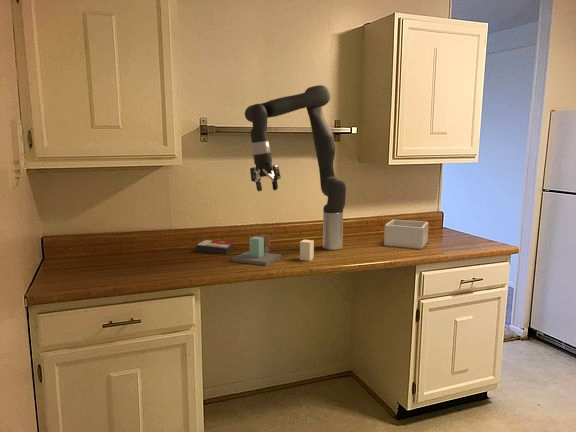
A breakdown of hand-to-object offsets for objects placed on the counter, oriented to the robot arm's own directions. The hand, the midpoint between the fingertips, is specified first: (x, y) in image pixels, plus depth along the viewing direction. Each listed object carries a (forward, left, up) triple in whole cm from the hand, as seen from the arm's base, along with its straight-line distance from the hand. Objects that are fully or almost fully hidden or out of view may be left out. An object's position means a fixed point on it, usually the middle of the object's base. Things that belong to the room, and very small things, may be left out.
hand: (267, 190), depth 201 cm
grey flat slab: (+6, -2, -29) cm, 30 cm away
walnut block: (-6, -5, -29) cm, 30 cm away
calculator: (-1, -27, -30) cm, 41 cm away
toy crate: (-54, +50, -29) cm, 79 cm away
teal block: (+6, -2, -28) cm, 28 cm away
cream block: (-4, +17, -29) cm, 34 cm away
